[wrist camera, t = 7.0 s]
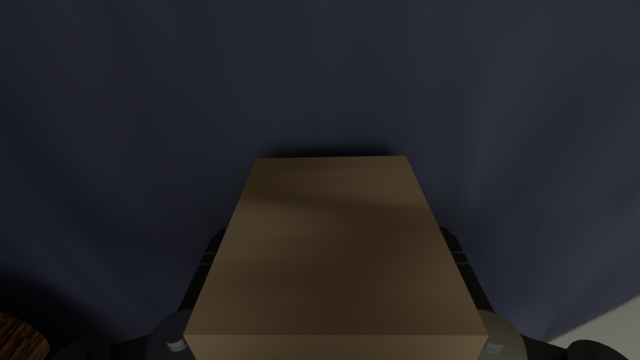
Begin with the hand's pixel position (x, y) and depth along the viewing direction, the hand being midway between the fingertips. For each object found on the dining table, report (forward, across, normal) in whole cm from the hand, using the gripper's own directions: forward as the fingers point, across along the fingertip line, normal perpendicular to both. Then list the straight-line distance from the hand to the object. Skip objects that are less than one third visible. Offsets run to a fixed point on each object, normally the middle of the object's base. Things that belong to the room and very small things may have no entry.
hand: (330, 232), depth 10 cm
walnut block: (+1, 0, 0) cm, 1 cm away
